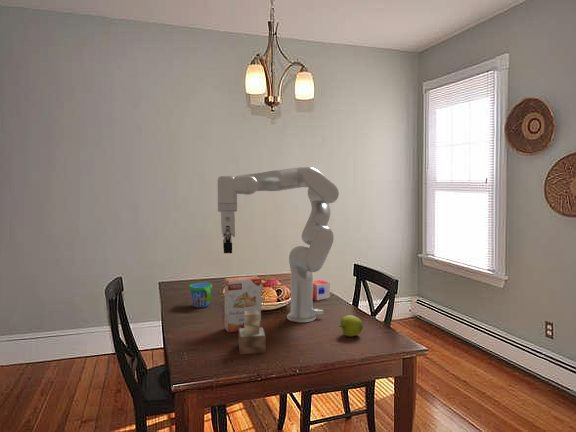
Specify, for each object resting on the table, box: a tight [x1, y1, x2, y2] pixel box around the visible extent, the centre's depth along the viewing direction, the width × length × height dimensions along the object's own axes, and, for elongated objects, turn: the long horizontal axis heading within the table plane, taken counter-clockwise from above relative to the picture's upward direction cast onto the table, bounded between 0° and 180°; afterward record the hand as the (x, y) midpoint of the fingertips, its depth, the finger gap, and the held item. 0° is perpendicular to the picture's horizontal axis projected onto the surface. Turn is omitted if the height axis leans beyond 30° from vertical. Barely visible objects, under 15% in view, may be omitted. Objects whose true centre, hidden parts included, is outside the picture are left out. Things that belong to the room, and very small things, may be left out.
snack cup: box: [188, 282, 213, 309], centre depth 217 cm, size 16×10×10 cm
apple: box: [339, 314, 364, 337], centre depth 178 cm, size 8×9×8 cm
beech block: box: [244, 310, 259, 334], centre depth 164 cm, size 5×5×7 cm
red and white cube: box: [313, 279, 331, 301], centre depth 234 cm, size 8×8×8 cm
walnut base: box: [238, 326, 267, 355], centre depth 164 cm, size 9×9×6 cm
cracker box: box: [224, 275, 262, 333], centre depth 185 cm, size 14×6×21 cm, turn 113°
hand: (227, 251), depth 180 cm, fingers open, 9 cm apart
